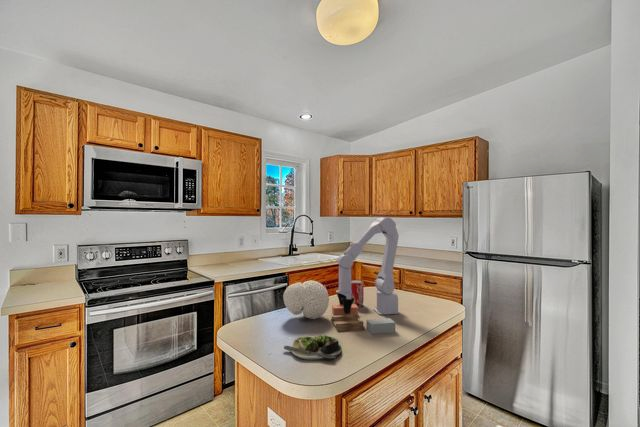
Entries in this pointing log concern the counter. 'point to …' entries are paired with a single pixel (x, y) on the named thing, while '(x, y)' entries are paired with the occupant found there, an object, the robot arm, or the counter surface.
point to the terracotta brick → (340, 310)
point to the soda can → (357, 292)
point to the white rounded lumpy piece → (307, 299)
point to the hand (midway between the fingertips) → (344, 310)
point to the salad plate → (316, 347)
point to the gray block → (380, 326)
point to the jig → (347, 323)
